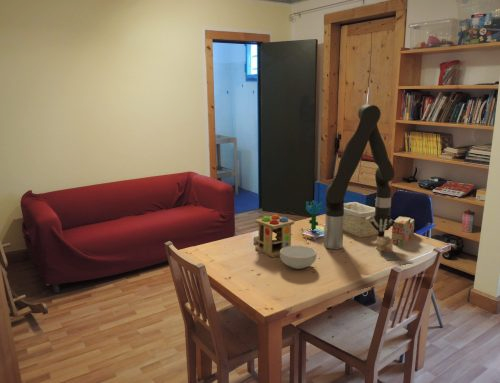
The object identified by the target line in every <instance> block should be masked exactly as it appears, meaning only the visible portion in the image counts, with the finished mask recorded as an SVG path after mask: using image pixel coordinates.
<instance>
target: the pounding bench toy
mask: <svg viewBox="0 0 500 383" xmlns="http://www.w3.org/2000/svg"><path fill="white" fill-rule="evenodd" d="M255 223H256V224H258V235H256V236H254V237H253V239H252V240H253V243H254V244H255V249H254V250H256V251H258V252H261V253H263V254H265V255H267V256H269V257H272V258H274V257H275V258H276V257H280V250H281V249H282V248H284V247H288V246H292V244H291V243H292V235H293V234H292V225H294V224H295V221H294V220H292V219H289V218H287V217H285V216H280V215H278V214H277V213H275V214H272V215H271V216H268V215H264V216H263V217H262V218H257V219H255ZM273 233H274V234H276V235H275V237H274V238H275V239H273ZM256 244H257V245H256Z"/></svg>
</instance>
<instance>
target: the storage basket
mask: <svg viewBox="0 0 500 383" xmlns="http://www.w3.org/2000/svg"><path fill="white" fill-rule="evenodd" d="M374 216H375V206H374V207H373V206H370V205H366V204H363V203H361V202H357V201H352V202H346V203H345V202H344V222H343V232H346V233H349V234H352V235H353V236H356V237H357V238H362V237H363V238H364V237H368V236H374V235H378V230H376V229H375V228H374V227H373V225H372V224H371V223H370V220H372V219H374ZM375 225H376V226H377V227H378V224H377V222H376V221H375Z"/></svg>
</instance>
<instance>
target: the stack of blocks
mask: <svg viewBox="0 0 500 383" xmlns="http://www.w3.org/2000/svg"><path fill="white" fill-rule="evenodd" d="M393 220H394V219H393ZM394 221H395V223H394V224H393V225H392V226H391V227H392V228H391V230H392V231H391V239H392V240H393V245H394V244H395V245H399V244H400V245H399V246H404V245H405V244H406V243H407V242H408V241H409V239H410V238H411V237H413V235H414V232H415V231H414V230H415V219H414V218H411V217H407V216H398V217H397V218H396V219H395V220H394Z"/></svg>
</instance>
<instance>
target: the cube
mask: <svg viewBox="0 0 500 383" xmlns="http://www.w3.org/2000/svg"><path fill="white" fill-rule="evenodd" d="M393 246H394V243H393V240H392V237H390V236H386V235H384V237H379V236H377V237H376V248H377V249H378V250H379V251H380V252H392V251H393ZM376 248H375V249H376ZM377 249H376V250H377ZM378 250H377V251H378ZM379 251H378V252H379Z"/></svg>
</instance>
